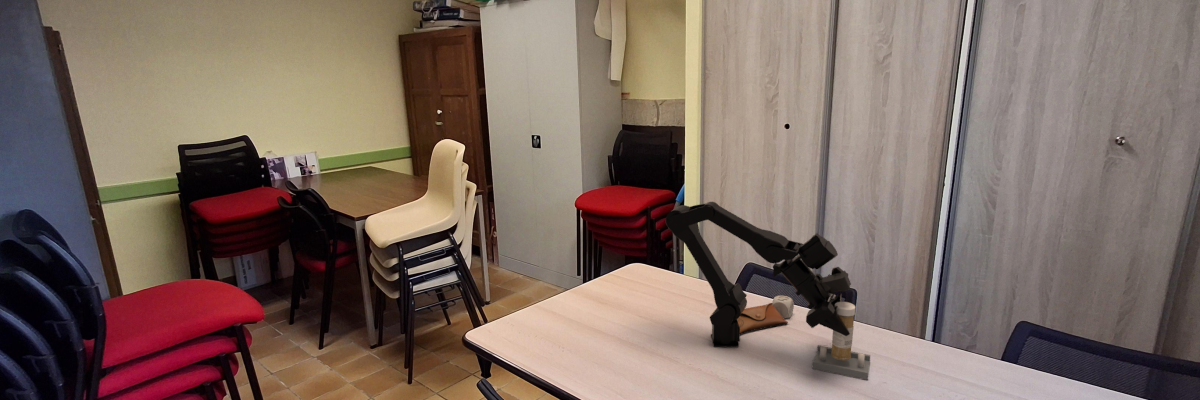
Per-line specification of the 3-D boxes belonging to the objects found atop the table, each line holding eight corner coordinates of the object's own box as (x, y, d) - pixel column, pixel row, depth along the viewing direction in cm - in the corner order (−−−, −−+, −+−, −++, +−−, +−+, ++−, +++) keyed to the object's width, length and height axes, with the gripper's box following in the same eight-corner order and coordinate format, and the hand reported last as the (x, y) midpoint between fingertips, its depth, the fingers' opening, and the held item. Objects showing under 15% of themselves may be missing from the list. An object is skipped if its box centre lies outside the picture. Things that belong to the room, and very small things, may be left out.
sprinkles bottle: (845, 351, 138) (849, 300, 135) (854, 361, 133) (859, 308, 130) (826, 352, 137) (831, 301, 134) (836, 362, 133) (840, 309, 130)
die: (771, 316, 163) (771, 300, 162) (776, 309, 167) (777, 294, 166) (788, 320, 161) (789, 303, 159) (793, 313, 165) (794, 297, 163)
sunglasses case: (737, 335, 151) (730, 310, 153) (723, 338, 157) (717, 314, 159) (790, 322, 158) (783, 298, 159) (775, 325, 164) (769, 302, 166)
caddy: (812, 368, 135) (812, 354, 134) (817, 351, 143) (818, 337, 142) (867, 380, 129) (868, 365, 128) (869, 361, 137) (871, 347, 136)
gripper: (825, 273, 124) (876, 329, 121) (835, 249, 140) (880, 298, 137) (786, 300, 129) (833, 354, 127) (799, 274, 145) (842, 321, 143)
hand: (849, 330), depth 133 cm, fingers closed on sprinkles bottle, 4 cm apart
